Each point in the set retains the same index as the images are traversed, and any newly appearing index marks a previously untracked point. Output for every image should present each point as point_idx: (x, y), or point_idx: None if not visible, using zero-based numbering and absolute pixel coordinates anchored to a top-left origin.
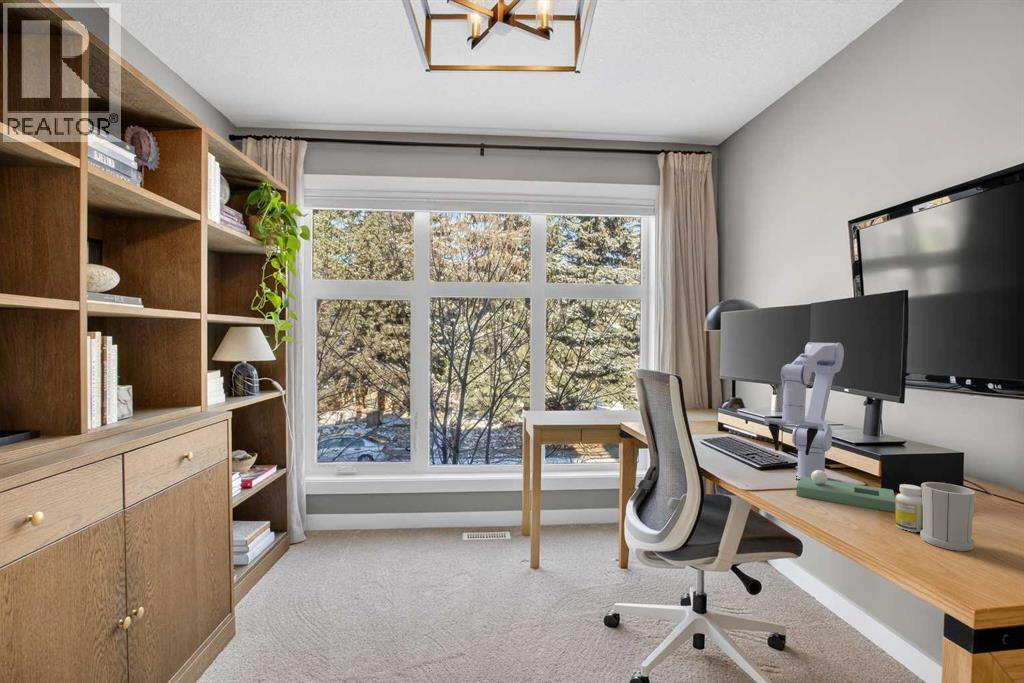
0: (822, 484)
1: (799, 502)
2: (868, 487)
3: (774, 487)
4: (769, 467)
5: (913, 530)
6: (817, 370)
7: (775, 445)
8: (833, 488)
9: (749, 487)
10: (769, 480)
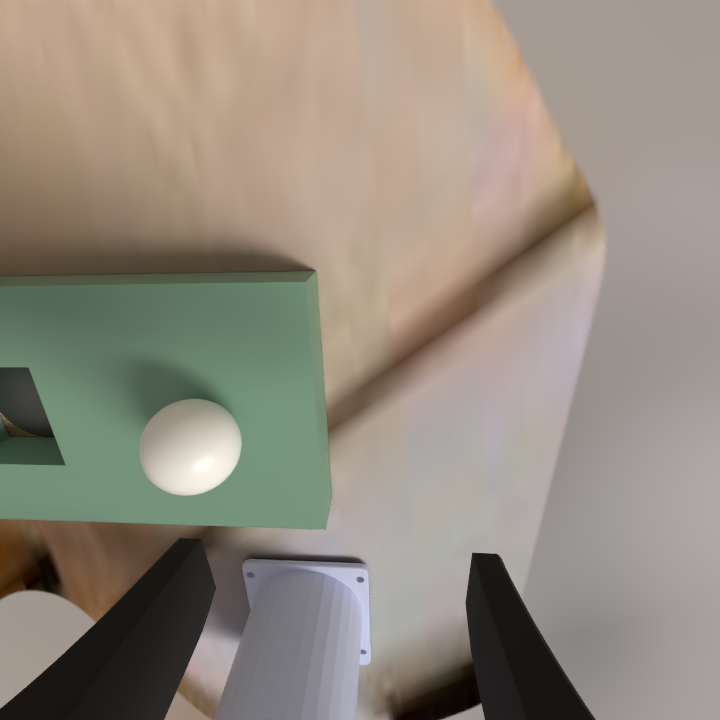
0: None
1: (275, 120)
2: (22, 498)
3: (444, 371)
4: None
5: None
6: None
7: (517, 609)
8: (130, 379)
9: (586, 278)
10: (477, 488)
